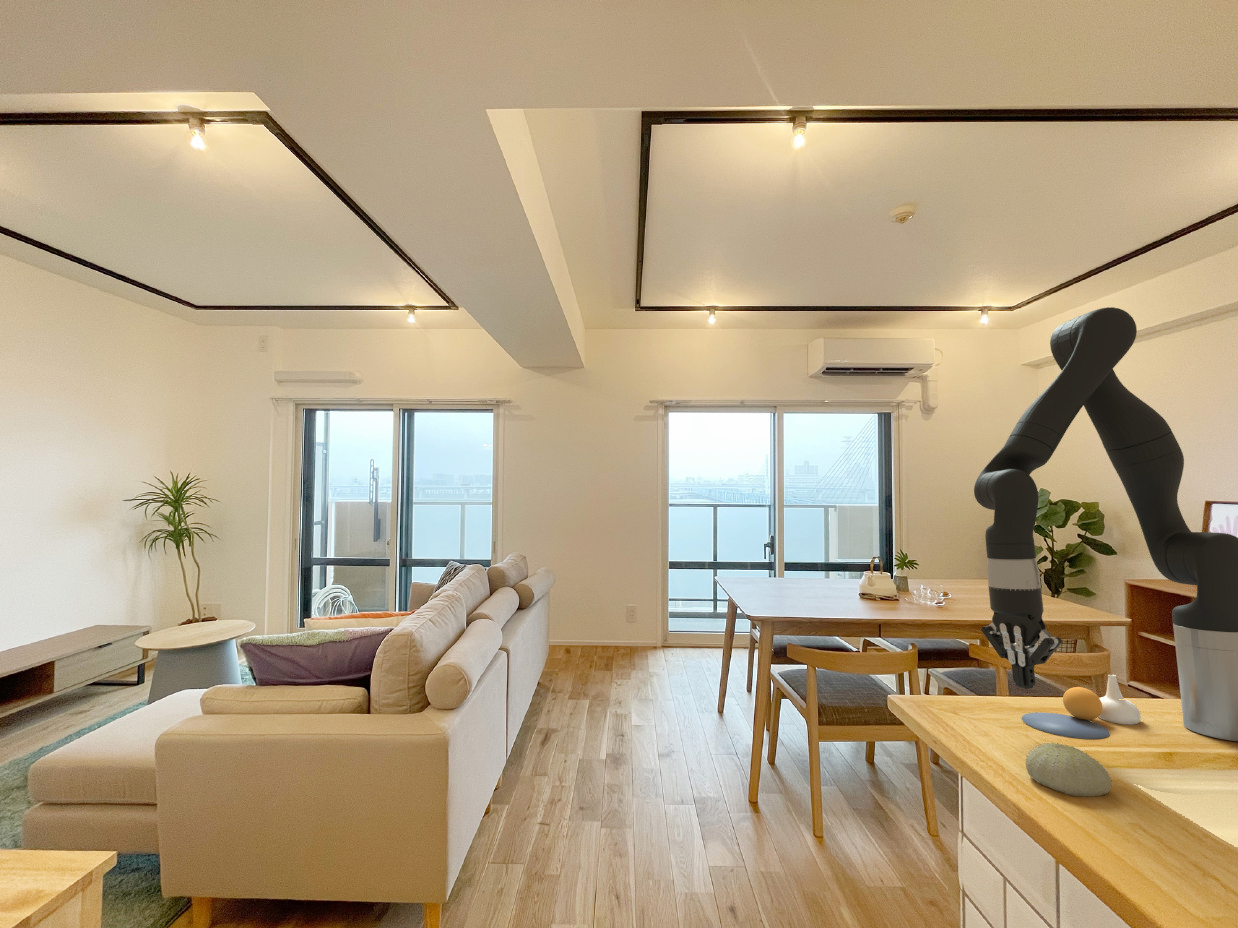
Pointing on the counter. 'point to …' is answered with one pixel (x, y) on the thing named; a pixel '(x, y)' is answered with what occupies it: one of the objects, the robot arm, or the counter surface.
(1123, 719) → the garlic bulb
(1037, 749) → the sea urchin shell
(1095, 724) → the disc
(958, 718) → the counter surface
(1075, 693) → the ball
